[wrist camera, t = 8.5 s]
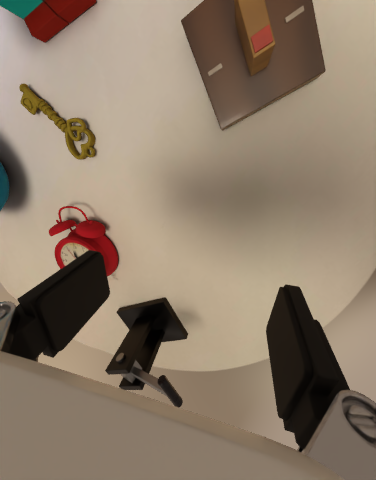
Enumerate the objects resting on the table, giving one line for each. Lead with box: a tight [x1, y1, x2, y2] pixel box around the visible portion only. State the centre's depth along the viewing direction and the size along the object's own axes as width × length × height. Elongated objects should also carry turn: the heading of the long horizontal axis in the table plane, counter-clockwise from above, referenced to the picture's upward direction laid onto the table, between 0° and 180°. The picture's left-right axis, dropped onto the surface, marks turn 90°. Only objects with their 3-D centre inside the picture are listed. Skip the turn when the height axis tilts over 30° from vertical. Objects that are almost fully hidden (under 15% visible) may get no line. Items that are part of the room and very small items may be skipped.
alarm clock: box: [49, 206, 118, 289], centre depth 33 cm, size 10×6×15 cm
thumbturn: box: [234, 0, 275, 76], centre depth 15 cm, size 4×2×5 cm, turn 26°
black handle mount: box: [105, 298, 188, 390], centre depth 35 cm, size 12×10×12 cm
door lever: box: [121, 361, 182, 408], centre depth 29 cm, size 12×5×2 cm, turn 116°
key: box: [20, 84, 95, 159], centre depth 26 cm, size 12×1×5 cm
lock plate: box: [181, 0, 325, 130], centre depth 18 cm, size 10×10×2 cm
